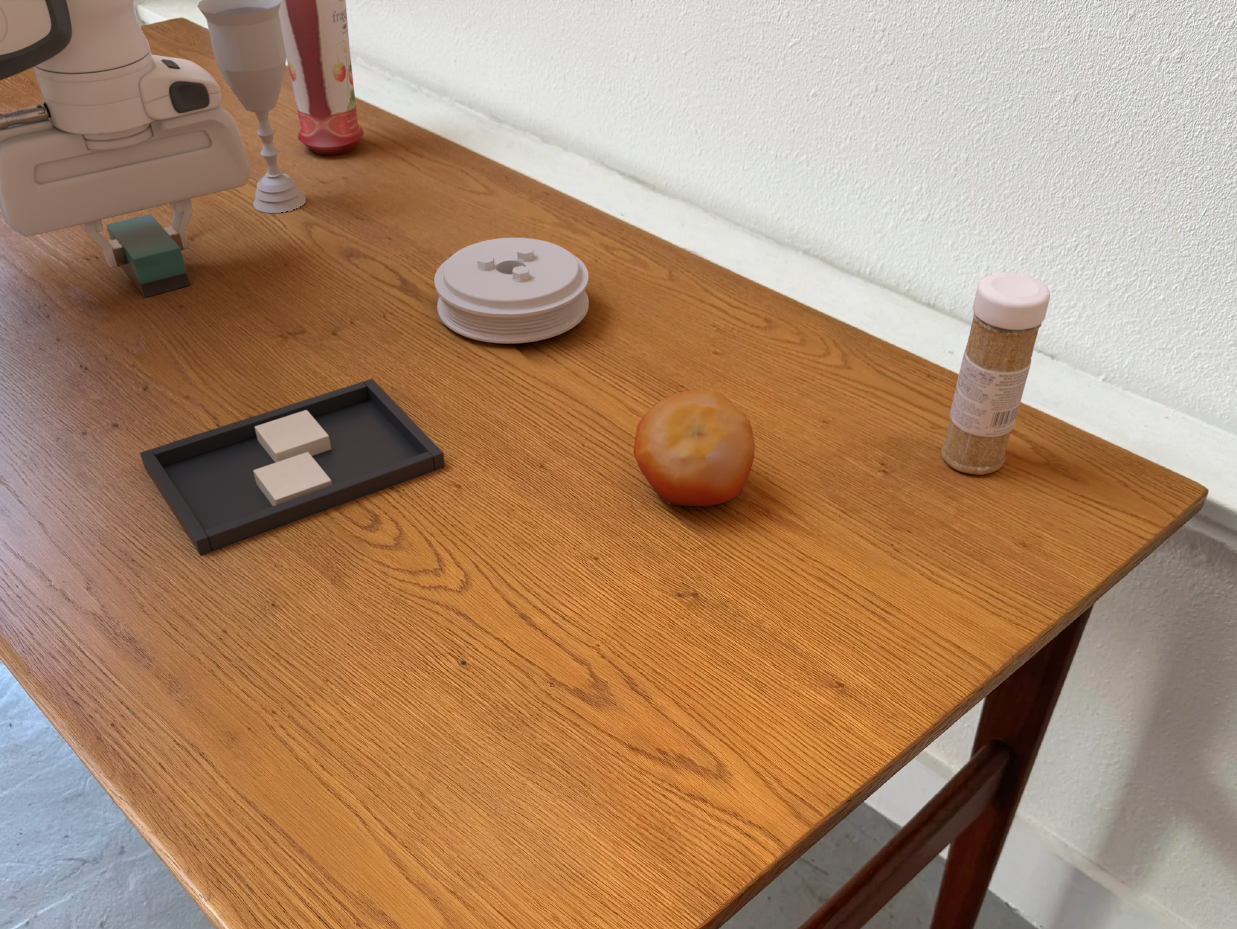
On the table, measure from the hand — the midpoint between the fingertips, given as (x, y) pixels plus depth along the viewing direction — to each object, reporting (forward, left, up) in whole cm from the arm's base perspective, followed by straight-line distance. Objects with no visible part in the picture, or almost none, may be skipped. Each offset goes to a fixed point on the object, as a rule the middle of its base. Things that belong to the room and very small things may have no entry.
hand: (148, 256), depth 103 cm
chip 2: (-2, -37, -1) cm, 38 cm away
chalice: (+15, +8, -2) cm, 17 cm away
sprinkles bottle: (+40, -60, -2) cm, 72 cm away
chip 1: (0, -32, -1) cm, 33 cm away
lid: (+23, -24, -2) cm, 33 cm away
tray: (-1, -35, -2) cm, 35 cm away
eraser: (0, 0, -2) cm, 2 cm away
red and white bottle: (+25, +18, -2) cm, 31 cm away
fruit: (+21, -52, -2) cm, 56 cm away
